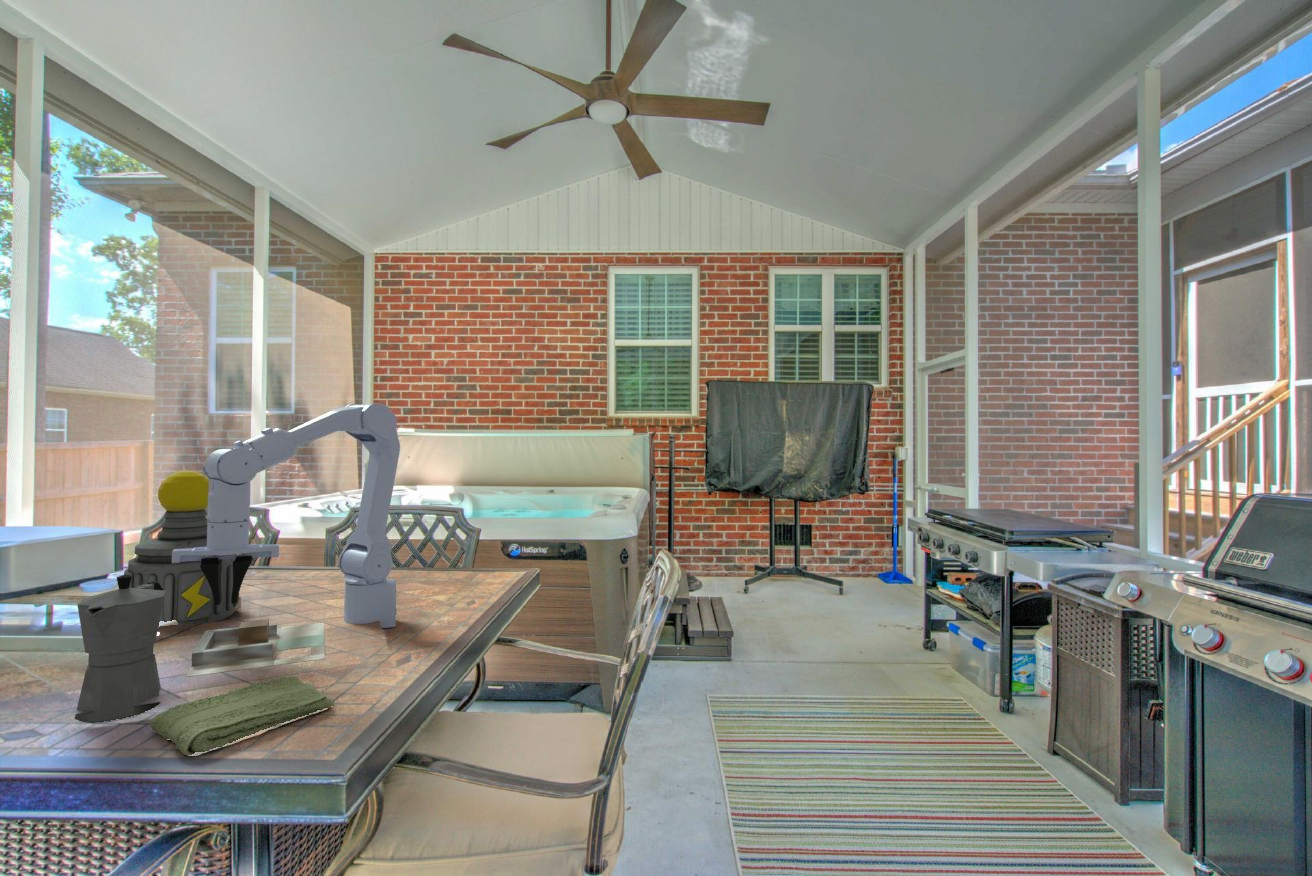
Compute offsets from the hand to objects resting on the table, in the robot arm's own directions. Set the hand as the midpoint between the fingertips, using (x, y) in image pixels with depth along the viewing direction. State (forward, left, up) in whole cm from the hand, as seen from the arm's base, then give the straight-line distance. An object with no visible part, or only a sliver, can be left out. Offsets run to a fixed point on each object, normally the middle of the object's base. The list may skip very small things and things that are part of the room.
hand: (226, 602), depth 102 cm
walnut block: (-4, 0, -8) cm, 9 cm away
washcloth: (-6, +27, -10) cm, 29 cm away
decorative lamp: (+10, -31, -10) cm, 34 cm away
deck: (-6, 0, -9) cm, 11 cm away
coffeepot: (+9, +15, -10) cm, 20 cm away
